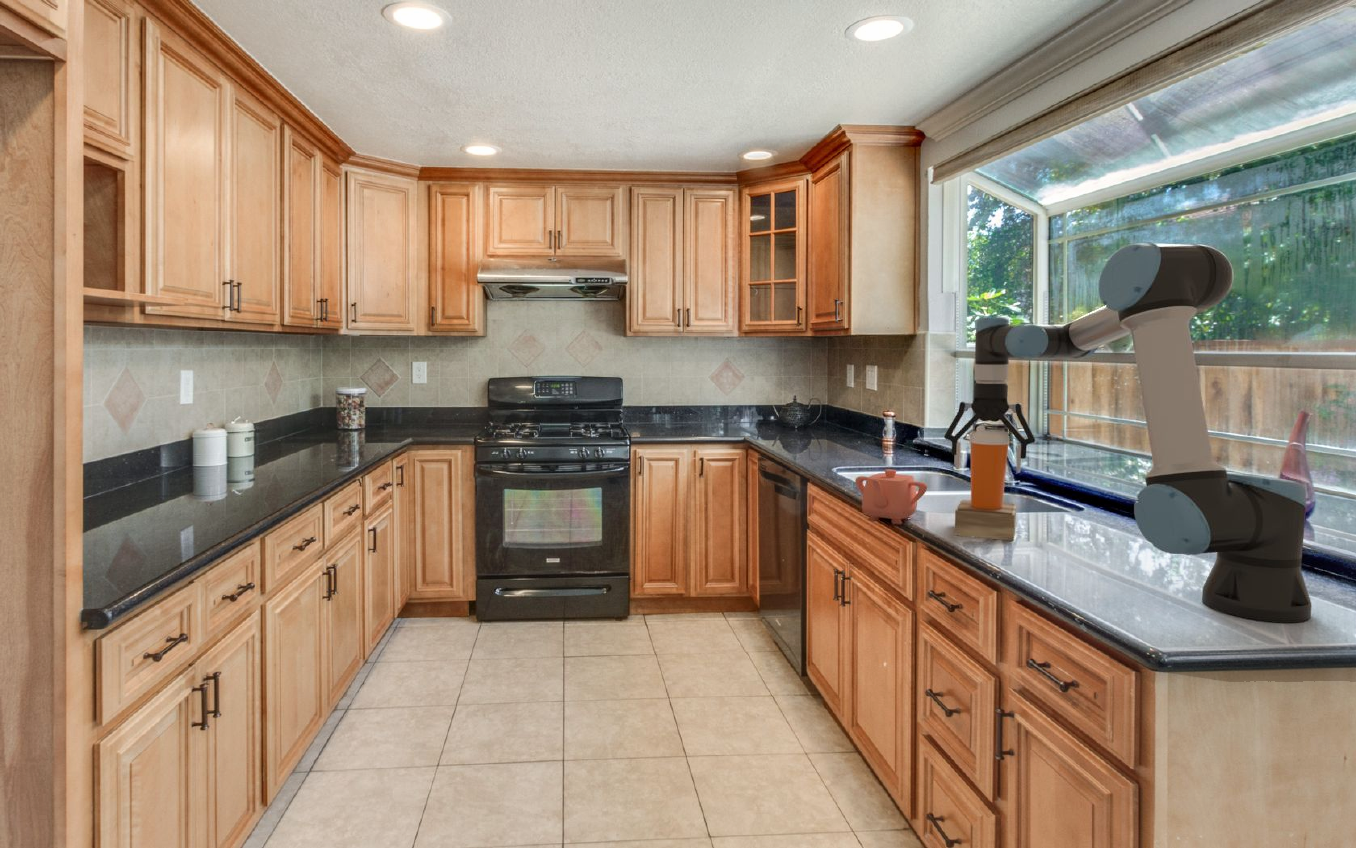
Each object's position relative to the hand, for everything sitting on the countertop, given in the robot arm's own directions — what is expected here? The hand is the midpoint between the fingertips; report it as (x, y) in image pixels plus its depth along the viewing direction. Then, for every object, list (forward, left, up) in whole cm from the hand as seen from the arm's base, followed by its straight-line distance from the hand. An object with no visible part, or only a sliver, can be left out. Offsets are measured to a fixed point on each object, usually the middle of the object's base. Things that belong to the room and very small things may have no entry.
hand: (987, 470), depth 189 cm
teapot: (+4, +24, -16) cm, 29 cm away
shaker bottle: (0, 0, -9) cm, 9 cm away
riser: (0, 0, -15) cm, 15 cm away
